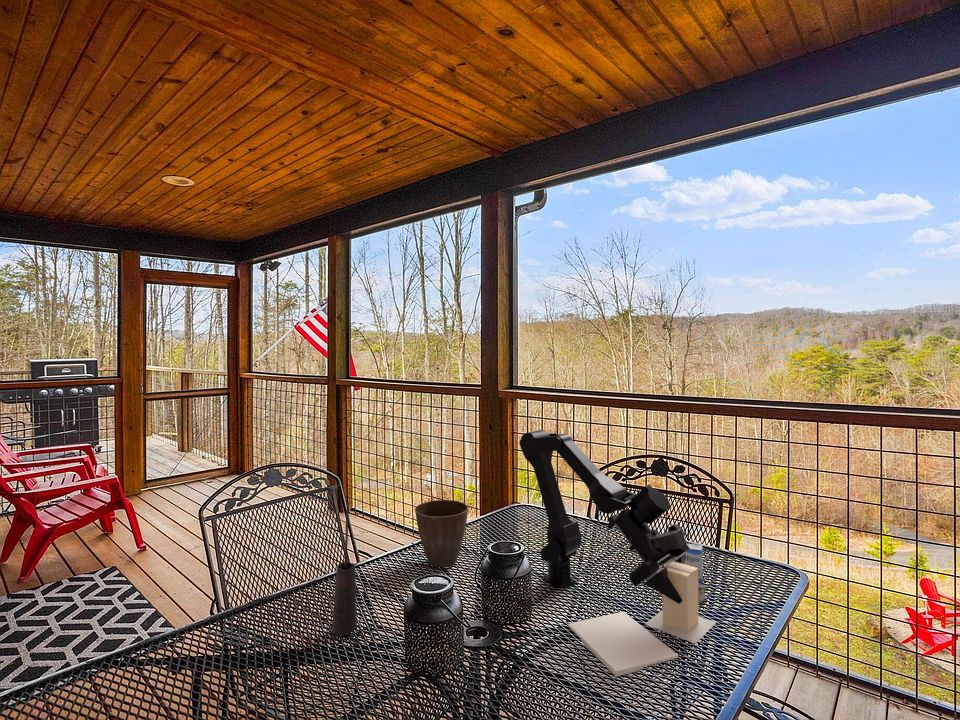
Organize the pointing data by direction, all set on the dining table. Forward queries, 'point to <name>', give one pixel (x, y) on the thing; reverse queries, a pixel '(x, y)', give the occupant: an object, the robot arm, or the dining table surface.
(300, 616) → the dining table surface
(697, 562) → the medicine box
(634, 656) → the off-white pad
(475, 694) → the dining table surface
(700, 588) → the egg carton
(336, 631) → the dark grey vase
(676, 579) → the kraft carton
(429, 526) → the plant pot
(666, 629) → the grey mat
